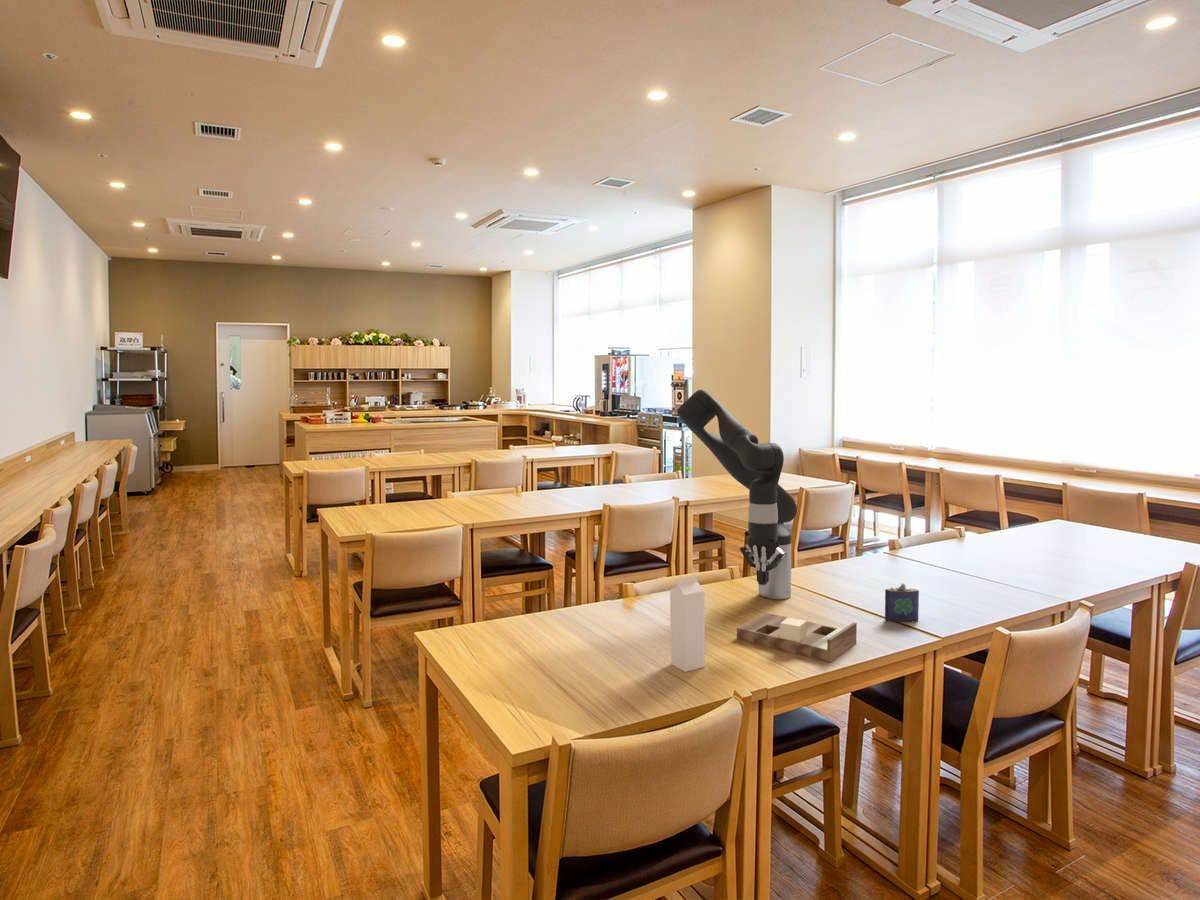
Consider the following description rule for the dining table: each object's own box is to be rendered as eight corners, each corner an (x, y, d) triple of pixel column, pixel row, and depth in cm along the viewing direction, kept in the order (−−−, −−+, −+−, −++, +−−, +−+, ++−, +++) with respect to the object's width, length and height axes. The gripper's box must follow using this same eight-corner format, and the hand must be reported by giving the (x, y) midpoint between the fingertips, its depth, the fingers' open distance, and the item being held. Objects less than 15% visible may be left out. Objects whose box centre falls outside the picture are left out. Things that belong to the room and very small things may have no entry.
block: (780, 638, 187) (780, 622, 187) (787, 632, 191) (787, 617, 191) (799, 641, 184) (799, 626, 184) (806, 636, 188) (806, 620, 188)
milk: (705, 667, 177) (705, 578, 175) (684, 672, 174) (684, 582, 172) (690, 658, 182) (690, 572, 180) (670, 663, 179) (669, 576, 177)
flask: (916, 618, 208) (917, 582, 207) (920, 622, 205) (921, 585, 204) (883, 619, 209) (884, 582, 208) (886, 622, 206) (887, 585, 205)
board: (736, 638, 195) (736, 618, 195) (766, 622, 207) (766, 604, 207) (830, 662, 178) (830, 640, 178) (856, 643, 190) (856, 622, 190)
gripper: (733, 518, 193) (733, 583, 195) (779, 524, 184) (779, 592, 186) (747, 514, 199) (747, 576, 200) (792, 520, 190) (792, 585, 192)
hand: (762, 584), depth 193 cm, fingers closed
